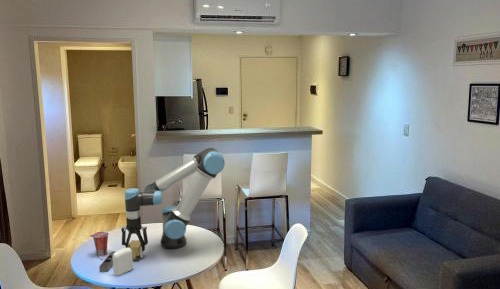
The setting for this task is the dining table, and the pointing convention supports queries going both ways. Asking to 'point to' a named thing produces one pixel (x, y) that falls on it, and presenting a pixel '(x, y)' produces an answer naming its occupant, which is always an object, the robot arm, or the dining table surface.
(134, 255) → the mottled tan brick
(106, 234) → the cup
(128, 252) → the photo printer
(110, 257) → the rail
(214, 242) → the dining table surface
